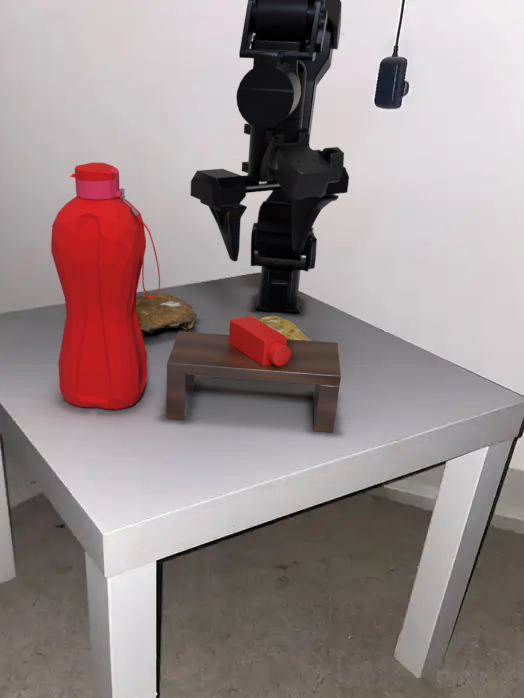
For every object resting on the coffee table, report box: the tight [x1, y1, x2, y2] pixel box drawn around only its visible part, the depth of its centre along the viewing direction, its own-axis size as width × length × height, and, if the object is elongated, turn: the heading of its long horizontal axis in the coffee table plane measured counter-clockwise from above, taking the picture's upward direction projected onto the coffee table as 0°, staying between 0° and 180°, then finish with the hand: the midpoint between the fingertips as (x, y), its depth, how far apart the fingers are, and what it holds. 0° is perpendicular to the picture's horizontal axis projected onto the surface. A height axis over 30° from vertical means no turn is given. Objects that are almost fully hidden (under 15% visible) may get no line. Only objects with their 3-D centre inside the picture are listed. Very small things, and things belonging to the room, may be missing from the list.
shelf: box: [165, 331, 342, 433], centre depth 85 cm, size 9×18×7 cm, turn 83°
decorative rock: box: [136, 292, 198, 335], centre depth 105 cm, size 11×4×15 cm
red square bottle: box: [228, 315, 291, 366], centre depth 82 cm, size 8×3×3 cm, turn 29°
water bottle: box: [50, 162, 161, 411], centre depth 82 cm, size 9×11×25 cm
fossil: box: [258, 315, 312, 341], centre depth 99 cm, size 11×6×10 cm
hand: (265, 256), depth 94 cm, fingers open, 9 cm apart
